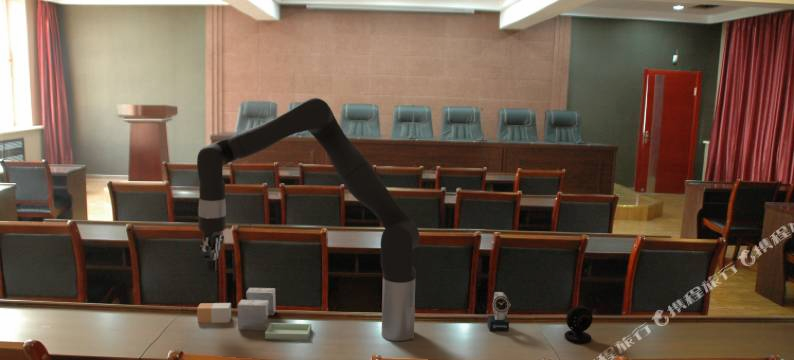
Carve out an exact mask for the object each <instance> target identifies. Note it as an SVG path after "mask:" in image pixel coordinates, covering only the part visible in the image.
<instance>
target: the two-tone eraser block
mask: <svg viewBox="0 0 794 360" xmlns="http://www.w3.org/2000/svg"><path fill="white" fill-rule="evenodd" d="M196 310H197V314H196V315H197V317H196V318H197V323H198V324H204V323H205V324H206V323H207V324H211V323H214V324H215V323H217V324H218V323H219V324H220V323H221V324H222V323H223V324H224V323H228V324H229V323H230V321H231V319H232V303H231V302H215V303H214V302H212V303H210V302H209V303H207V302H204V303H199V305H198V306H197V308H196Z"/></svg>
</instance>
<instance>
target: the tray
mask: <svg viewBox="0 0 794 360" xmlns="http://www.w3.org/2000/svg"><path fill="white" fill-rule="evenodd" d="M311 333H312V323H295V322H294V323H293V322H292V323H290V322H289V323H288V322H285V323H284V322H269V323H268V327H267V329H266V330H265V332H264V339H265V340H280V341H281V340H282V341H283V340H284V341H285V340H286V341H289V340H290V341H309V338H310V335H311Z"/></svg>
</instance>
